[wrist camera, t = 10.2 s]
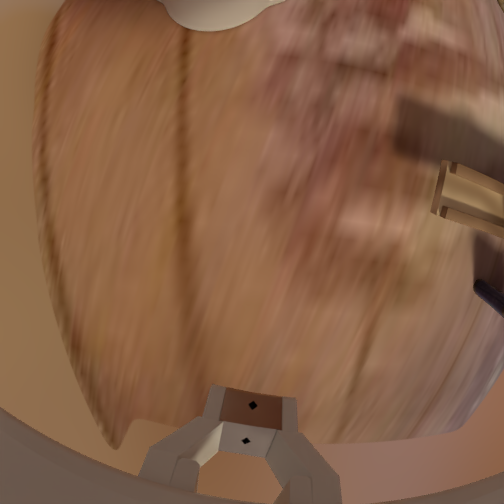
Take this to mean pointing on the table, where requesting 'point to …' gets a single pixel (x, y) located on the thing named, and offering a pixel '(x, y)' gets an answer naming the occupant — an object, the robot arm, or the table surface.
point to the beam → (469, 198)
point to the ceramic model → (501, 4)
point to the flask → (490, 295)
